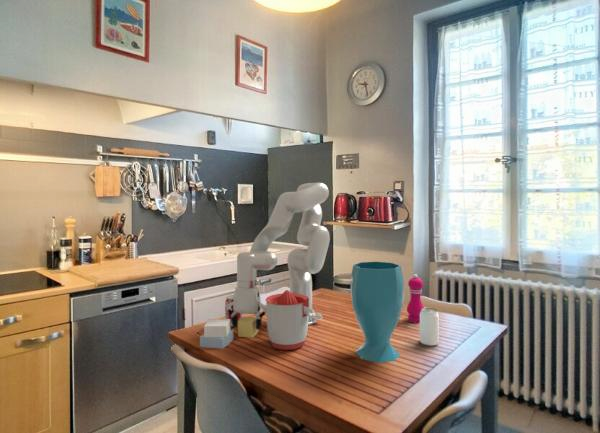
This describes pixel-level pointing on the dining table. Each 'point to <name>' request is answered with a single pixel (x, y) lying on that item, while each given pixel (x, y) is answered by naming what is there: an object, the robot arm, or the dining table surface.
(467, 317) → the dining table surface
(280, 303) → the citrus juicer
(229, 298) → the soda can
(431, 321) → the can
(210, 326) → the top block
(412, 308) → the pepper mill
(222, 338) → the base block
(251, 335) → the stack cube
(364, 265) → the vase
